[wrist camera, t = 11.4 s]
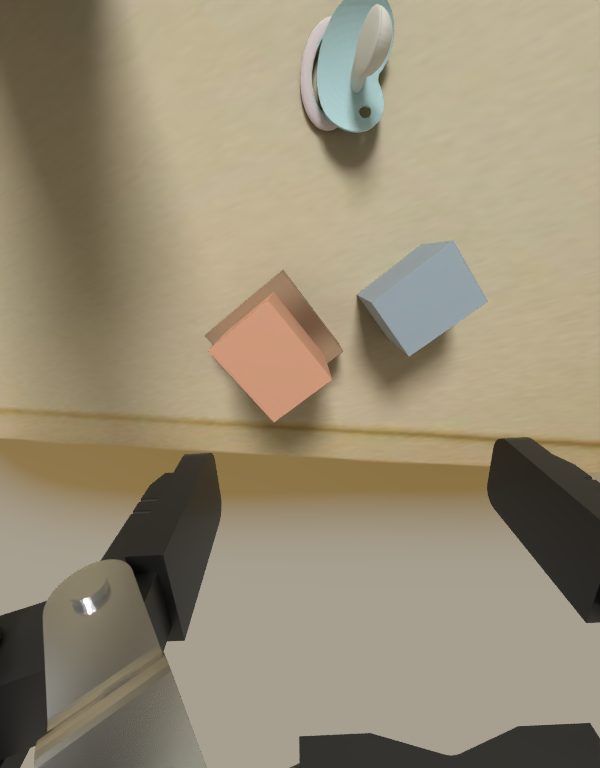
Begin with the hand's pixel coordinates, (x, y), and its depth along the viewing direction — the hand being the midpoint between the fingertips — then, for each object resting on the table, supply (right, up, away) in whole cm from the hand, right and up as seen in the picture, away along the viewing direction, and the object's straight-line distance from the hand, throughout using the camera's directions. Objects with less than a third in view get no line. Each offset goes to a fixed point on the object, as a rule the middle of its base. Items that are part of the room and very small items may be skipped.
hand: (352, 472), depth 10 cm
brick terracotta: (-3, +6, +18) cm, 19 cm away
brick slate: (+8, +10, +20) cm, 23 cm away
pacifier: (+1, +24, +15) cm, 28 cm away
